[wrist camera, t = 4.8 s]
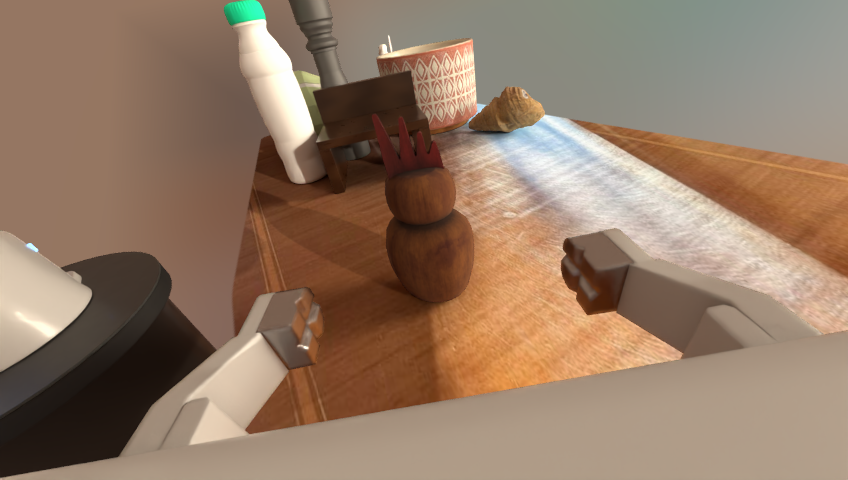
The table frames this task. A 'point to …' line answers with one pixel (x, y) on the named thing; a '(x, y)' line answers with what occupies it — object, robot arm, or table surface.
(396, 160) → the wooden figurine
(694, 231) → the table surface
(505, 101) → the seashell
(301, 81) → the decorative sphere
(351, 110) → the miniature wooden bench
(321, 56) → the candle holder
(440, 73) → the planter
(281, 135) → the water bottle
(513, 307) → the table surface
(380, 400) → the table surface
